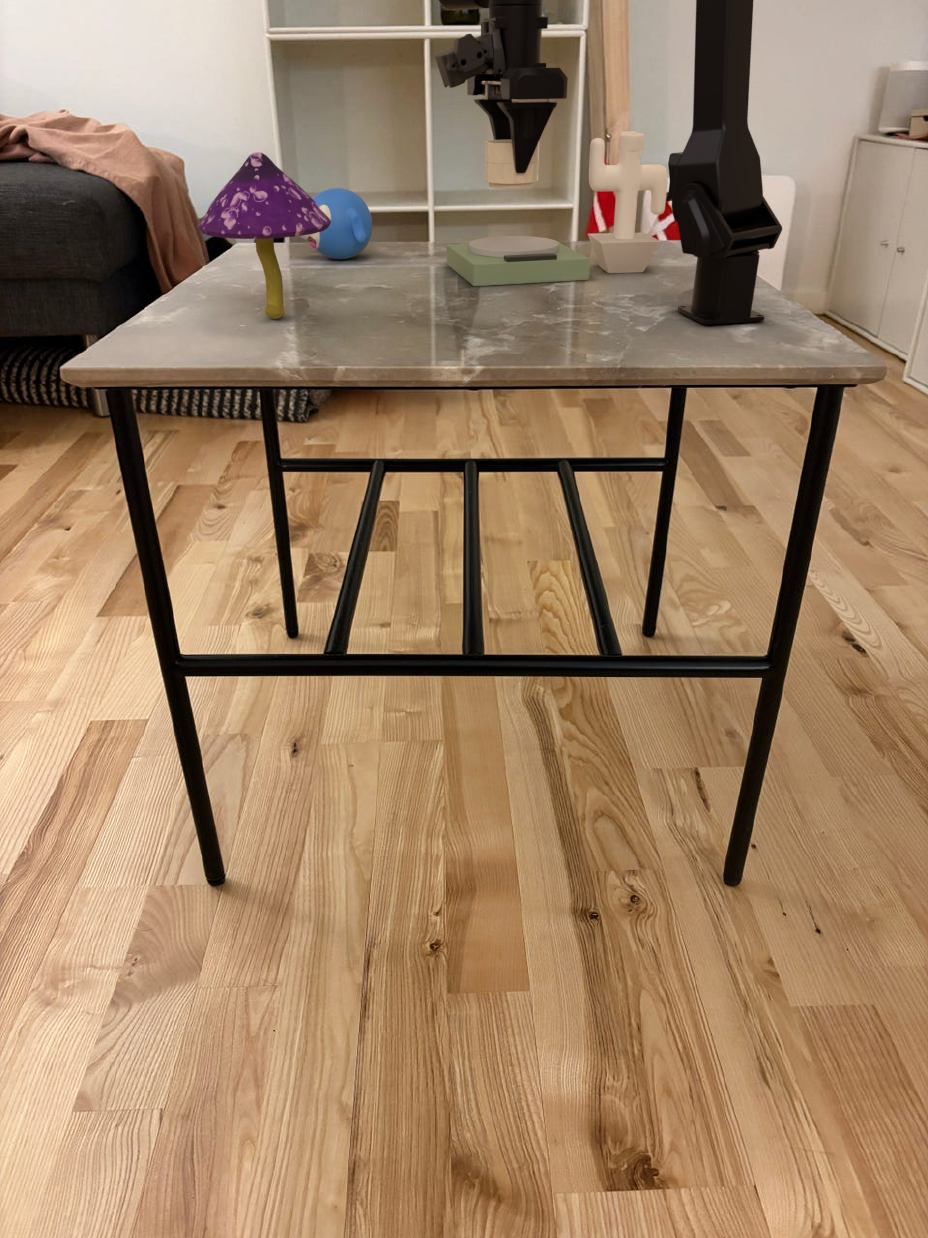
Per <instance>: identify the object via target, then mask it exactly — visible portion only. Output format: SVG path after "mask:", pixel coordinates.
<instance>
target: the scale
mask: <svg viewBox="0 0 928 1238" xmlns="http://www.w3.org/2000/svg"><path fill="white" fill-rule="evenodd" d="M446 265H447V266H448V267H449V268H450V269H452V270H453V271H454V272H455V273H457V275H459V276H460V277H462V278H463V279H464V280H465V281H467V282H468V283H469V284H470V285H472V287H488V286H504V285H525V284H541V283H543V284H544V283H559V282H573V281H576V282H577V281H589V280H590V270H591V257H589V256H586V255H584V254H582V253H581V252H578V251H576V250H574V249H572V248H570V247H568V246H566V245H564V244H562V243H560V242H559V241H557V240H555V239H552V238H547V237H541V236H529V235H499V236H497V235H496V236H488V237H480V238H475V239H473V240H470V241H469V243H453V244H452V243H451V244H446Z"/></svg>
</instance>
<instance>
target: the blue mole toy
mask: <svg viewBox="0 0 928 1238" xmlns="http://www.w3.org/2000/svg"><path fill="white" fill-rule="evenodd" d="M312 199H313V200H314V201H315V202H316V204H317V205H318V206H319V208H320V209H321V210H322V211H323V212H324V213H325V215H326V216H327V217H328V218H329V219H330V220H331V223H330V225H329V227H328V228H327V229H325V230H324V231H321V232H318V233H314V234H309V235H303V236H298V237H299V238H301V239H302V240H303V241H308V243H309V247H311V248H312V249H314V250H316V252H318V253H319V254H321V255H322V256H323V257H326V258H329V259H332V260H348V259H351V258H354V257H356V256H358V255H359V254H361V253H362V252H363V251H364V250H365V249H366V247H367V246H368V244H369V243H370V241H371V237H372V233H373V218H372V214H371V211H370V209H369V207H368V205H367V203H366V201H364V199H363V198H362V197H361V196H360V195H359V194H357V193H356V192H354V191H352V190H350V189H347V188H341V187H340V188H339V187H335V188H328V189H324V190H322V191H320V192H318V193H317V194H316V195H315V196H313V198H312Z"/></svg>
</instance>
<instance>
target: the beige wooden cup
mask: <svg viewBox="0 0 928 1238" xmlns="http://www.w3.org/2000/svg"><path fill="white" fill-rule="evenodd" d="M539 160H540V141H539V142H538V144H537V147H536V149H535V151H534V154H533V156H532V159H531V161H530V163H529V166H528V168H527V170H526V172H525V173H516V171H515V165H514V157H513V148H512V139H503V140H494V139H489V140H486V141H484V164H485V165H484V171H485V172H484V182H486V183H487V184H488V187H490V188H493V189H494V188H495V189H508V190H509V189H512V190H513V189H515V190H517V189H528V188H529V189H530V188H534V187H535V183H537V182H539V166H540V165H539Z"/></svg>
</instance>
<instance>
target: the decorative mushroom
mask: <svg viewBox="0 0 928 1238" xmlns="http://www.w3.org/2000/svg"><path fill="white" fill-rule="evenodd" d="M330 223H331V220H330V219H329V218H328V217H327V216H326V215H325V213H324V212H323V211H322V210H321V209H320V208H319V206H318V205H317V204H316V202H315V201H314V200H313V198H312V197H311V196H310V195H309V194H308V193H307V192H306V191H305V190H304V189H303V188H302V187H301V186H300V185H299V184H298V183H296V182H295V181H294V180H293V179H292V178H291V177H289V176H288V175H287V174H286V173H285V172H284V171H282V169H280V168H279V167H278V166H277V165H276V164H275V163H274V162H273V160H271V158H270V157H269V156H268V155H267V154H264V153H263V152H260V151H255V152H252V153H251V154H249V156H248V157H247V158H246V159H245V160H244V162H243V163H242V165H241V166H240V167H239V169H238V170H237V171H236V172H235V174H234V175H233V176H232V177H231V178H230V179H229V181H228V182H227V183H225V185H223V188H222V189H221V190H220V191H219V193H218V194H217V196H216V197H214V199H213V201H212V202H211V203H210V204H209V206H208V209H207V211H206V212H205V214H204V216H203V217H202V219H201V220H200V222H199V223H198V227H197V228H198V229H199V230H200V232H201V233H203V234H205V235H206V236H209V237H214V238H215V237H216V238H222V239H232V240H233V239H235V240H254V241H255V251H256V254H257V256H258V258H259V261H260V264H261V267H262V270H263V274H264V278H265V294H266V305H265V308H264V313H265V315H266V316H267V317H268V318H269V319H274V320H277V319H280V318H283V316H284V315H285V313H286V311H285V305H284V286H283V284H284V283H283V275H282V271H281V268H280V264H279V261H278V258H277V254H276V251H275V242H274V239H285V238H294V237H295V238H296V237H299V236H303V235H309V234H314V233H318V232H321V231H324V230H325V229H327V228H328V227H329V225H330Z"/></svg>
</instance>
